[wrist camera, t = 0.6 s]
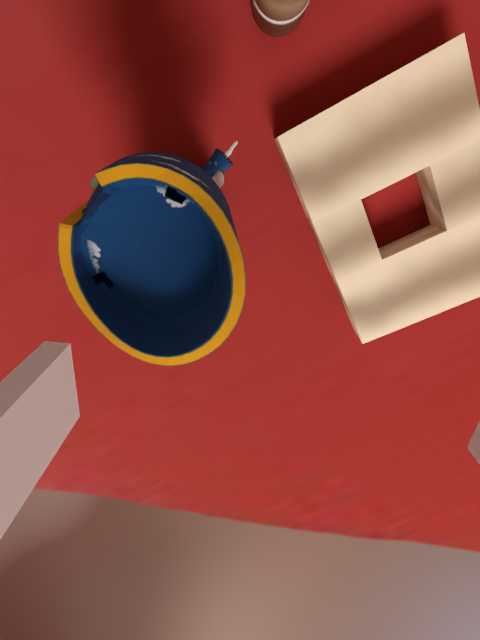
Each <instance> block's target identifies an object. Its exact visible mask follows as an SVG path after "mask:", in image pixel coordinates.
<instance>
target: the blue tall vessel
mask: <svg viewBox="0 0 480 640" xmlns="http://www.w3.org/2000/svg"><path fill="white" fill-rule="evenodd" d="M237 144H238V142H237V141H236V142H235V143H234V144H233V145H232V146H231V147H230V148H229V149H228V150H227V151H226V153H225V154H224V153H223V152H222V151H221V150H219V149H218V148H217V149H216V150H215V152H214V153H213V155H212V157H211V158H210V159H209V161H208V162H207V163H206V165H205V166H204V167H203V168H202V169H201V168H200V167H199V166H197V165H195V164H193V163H192V162H190V161H188V160H186V159H184V158H181V157H179V156H176V155H172V154H167V153H161V152H146V153H138V154H134V155H131V156H127V157H125V158H122V159H120V160H118V161H116V162H114V163H112V164H110V165H109V166H107V167H105V168H104V169H102V170H100V171H98V172H97V173H95V175H96V176H95V177H94V178H93V179H92V180H91V183H90V187H91V188H92V189H93V190H94V192H93V193H92V195H91V197H90V199H89V202H86V203H85V204H83V205H82V206H81V207H79V208H78V209H77V210H76V211H74V212H73V213H72V214H71V215H69V216H68V217H67V218H66V219H64V220H63V221H62V222H60V224H59V231H58V253H59V260H60V265H61V269H62V273H63V276H64V279H65V282H66V284H67V286H68V289H69V291H70V293H71V295H72V296H73V298H74V300H75V302H76V303H77V305H78V307H79V308H80V309H81V311H82V312H83V313H84V315H85V316H86V318H87V319H88V320H89V321H90V322H91V323H92V324H93V325H94V327H95V328H96V329H97V330H98V331H99V332H100V333H101V334H102V335H103V336H104V337H106V338H107V339H108V340H109V341H110V342H112V343H113V344H114V345H115V346H117V347H118V348H119V349H121V350H123V351H124V352H126V353H128V354H129V355H131V356H133V357H135V358H137V359H140V360H142V361H144V362H148V363H152V364H156V365H165V366H175V365H183V364H187V363H190V362H194V361H197V360H199V359H201V358H203V357H205V356H207V355H208V354H210V353H211V352H213V351H214V350H215V349H217V348H218V347H219V346H220V345H221V344H222V343H223V342H224V341H225V340H226V339H227V338H228V337H229V335H230V334H231V332H232V331H233V329H234V327H235V326H236V324H237V322H238V319H239V317H240V314H241V312H242V309H243V304H244V299H245V292H246V274H245V266H244V259H243V256H242V252H241V249H240V245H239V241H238V238H237V234H236V231H235V227H234V223H233V220H232V216H231V213H230V209H229V205H228V203H227V201H226V199H225V196H224V194H223V193H222V191H221V190H220V188H221V186H222V185H223V183H224V176H223V173H224V172H225V171H226V170H227V169H229V168H230V167H231V166H232V165H233V164H232V162H231V161H230V159H229V158H228V156H230V155H231V153H232V150H233V149H234V148H235V146H236V145H237Z"/></svg>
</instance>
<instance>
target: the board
mask: <svg viewBox="0 0 480 640" xmlns="http://www.w3.org/2000/svg"><path fill="white" fill-rule="evenodd" d="M275 142H276V144H277V146H278V149H279V151H280V154H281V156H282V158H283V161H284V163H285V166H286V168H287V170H288V173H289V175H290V178H291V180H292V182H293V185H294V187H295V190H296V192H297V194H298V197H299V199H300V202H301V204H302V206H303V209H304V211H305V214H306V216H307V218H308V221H309V223H310V226H311V228H312V230H313V233H314V235H315V238H316V240H317V242H318V245H319V247H320V250H321V252H322V254H323V257H324V259H325V262H326V264H327V266H328V269H329V271H330V274H331V276H332V278H333V281H334V283H335V286H336V288H337V290H338V293H339V295H340V298H341V300H342V302H343V305H344V307H345V310H346V312H347V314H348V317H349V319H350V322H351V324H352V326H353V329H354V331H355V333H356V334H357V336H358V337H359V339H360V341H361V342H362V344H364V343H367V342H369V341H372V340H374V339H376V338H379V337H381V336H384V335H386V334H389V333H391V332H394V331H396V330H399V329H401V328H404V327H406V326H409V325H411V324H414V323H416V322H418V321H421V320H423V319H426V318H428V317H431V316H433V315H436V314H438V313H441V312H443V311H446V310H448V309H451V308H453V307H456V306H458V305H460V304H463V303H465V302H468V301H470V300H473V299H475V298H478V297H480V108H479V103H478V98H477V93H476V88H475V84H474V79H473V74H472V69H471V64H470V59H469V54H468V49H467V44H466V39H465V34H464V33H462V34H461V35H459V36H457V37H455V38H454V39H452V40H450V41H448V42H446V43H445V44H443V45H441V46H439V47H437V48H436V49H434V50H432V51H430V52H428V53H427V54H425V55H423V56H421V57H420V58H418V59H416V60H414V61H412V62H411V63H409V64H407V65H405V66H403V67H402V68H400V69H398V70H396V71H394V72H393V73H391V74H389V75H387V76H386V77H384V78H382V79H380V80H378V81H377V82H375V83H373V84H371V85H369V86H368V87H366V88H364V89H362V90H360V91H359V92H357V93H355V94H353V95H352V96H350V97H348V98H346V99H344V100H343V101H341V102H339V103H337V104H335V105H334V106H332V107H330V108H328V109H326V110H325V111H323V112H321V113H319V114H318V115H316V116H314V117H312V118H310V119H309V120H307V121H305V122H303V123H301V124H300V125H298V126H296V127H294V128H293V129H291V130H289V131H287V132H285V133H284V134H282V135H280V136H278V137H277V138H275ZM414 173H416V176H417V179H418V183H419V186H420V190H421V193H422V197H423V200H424V204H425V207H426V211H427V215H428V218H429V222H430V225H428V226H426V227H424V228H422V229H420V230H417V231H415V232H413V233H411V234H409V235H406V236H404V237H402V238H400V239H398V240H396V241H393V242H391V243H389V244H387V245H385V246H382V247H380V248H378V247H377V244H376V241H375V238H374V235H373V233H372V230H371V227H370V224H369V221H368V218H367V215H366V213H365V210H364V207H363V204H362V201H361V199H363V198H365V197H367V196H369V195H371V194H373V193H375V192H377V191H379V190H381V189H383V188H385V187H387V186H389V185H391V184H393V183H395V182H397V181H399V180H401V179H403V178H406V177H408V176H410V175H412V174H414Z"/></svg>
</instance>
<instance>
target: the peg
mask: <svg viewBox="0 0 480 640" xmlns="http://www.w3.org/2000/svg"><path fill="white" fill-rule="evenodd" d="M309 1H310V0H252V13H253V16H254V19H255V22H256V23H257V25H258V27H259V28H260V29H261V30H262V31H263V32H264V33H266V34H268V35H270V36H274V37H281V36H285V35H287V34H289V33H291V32H292V31H293V30H294V29H295V28H296V27H297V26H298V25H299V23H300V21H301V19H302V17H303V15H304V12H305V9H306V7H307V5H308V3H309Z"/></svg>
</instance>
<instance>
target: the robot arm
mask: <svg viewBox="0 0 480 640" xmlns="http://www.w3.org/2000/svg"><path fill="white" fill-rule="evenodd" d="M79 417H80V414H79V406H78V398H77V391H76V383H75V375H74V367H73V360H72V352H71V344H69V343H58V342H46V341H45V342H43V343H42V344H41V345H40V346H39V347H38V348H37V349H36V350H35V351H34V352H33V353H31V354H30V355H29V356H28V357H27V358H26V359H25V360H24V361H23V362H22V363H20V364H19V365H18V366H17V367H16V368H15V369H14V370H13V371H12V372H11V373H10V374H8V375H7V376H6V377H5V378H4V379H3V380H2V381H1V382H0V539H1V537H2V536H3V534H4V533H5V531H6V530H7V528H8V527H9V525H10V524H11V522H12V521H13V519H14V517H15V516H16V514H17V513H18V511H19V510H20V508H21V507H22V505H23V504H24V502H25V500H26V499H27V497H28V496H29V494H30V493H31V491H32V490H33V488H34V486H35V485H36V483H37V482H38V480H39V479H40V477H41V476H42V474H43V472H44V471H45V469H46V468H47V466H48V465H49V463H50V462H51V460H52V458H53V457H54V455H55V454H56V452H57V451H58V449H59V448H60V446H61V444H62V443H63V441H64V440H65V438H66V437H67V435H68V434H69V432H70V430H71V429H72V427H73V426H74V424H75V423H76V421H77V420H78V418H79ZM467 448H468V450H469V451H470V452H471V454H472V455H473V456H474V458H475V459H476V460H477V462H478V463H479V464H480V421H479V423H478V425H477V428H476V430H475V432H474V434H473V436H472V438H471V440H470V442H469V444H468V446H467Z"/></svg>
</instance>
